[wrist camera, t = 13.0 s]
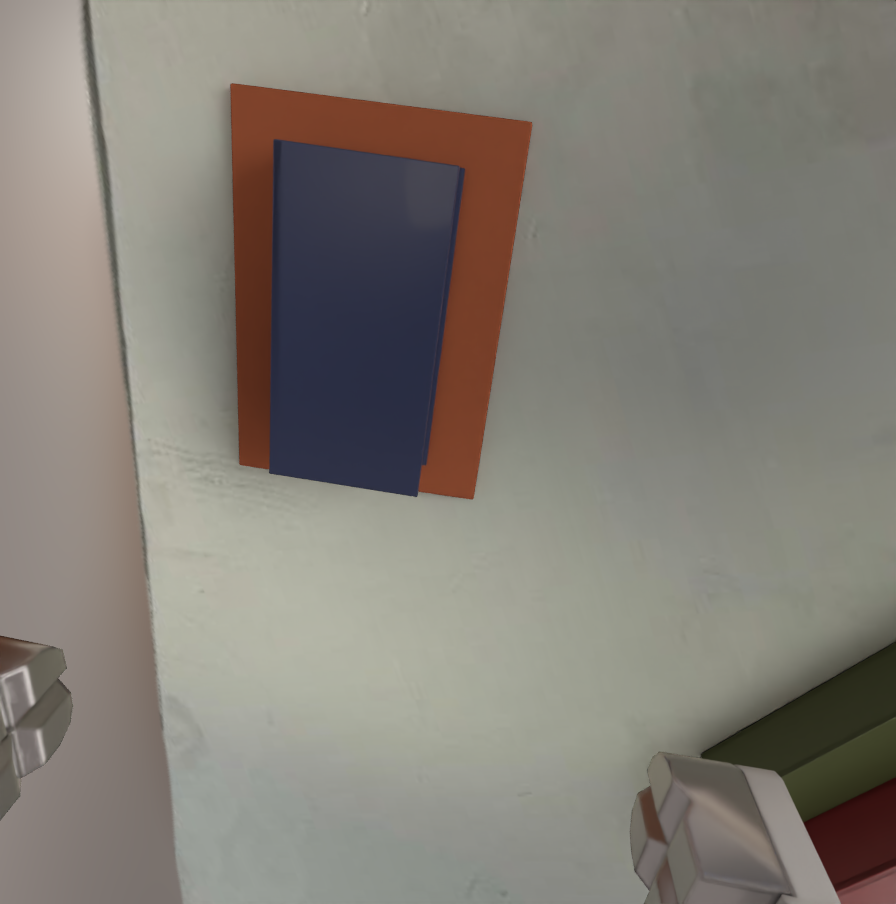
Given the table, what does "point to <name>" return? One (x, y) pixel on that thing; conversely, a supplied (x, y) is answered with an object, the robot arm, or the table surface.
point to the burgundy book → (860, 846)
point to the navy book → (358, 312)
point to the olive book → (827, 738)
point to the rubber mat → (474, 265)
